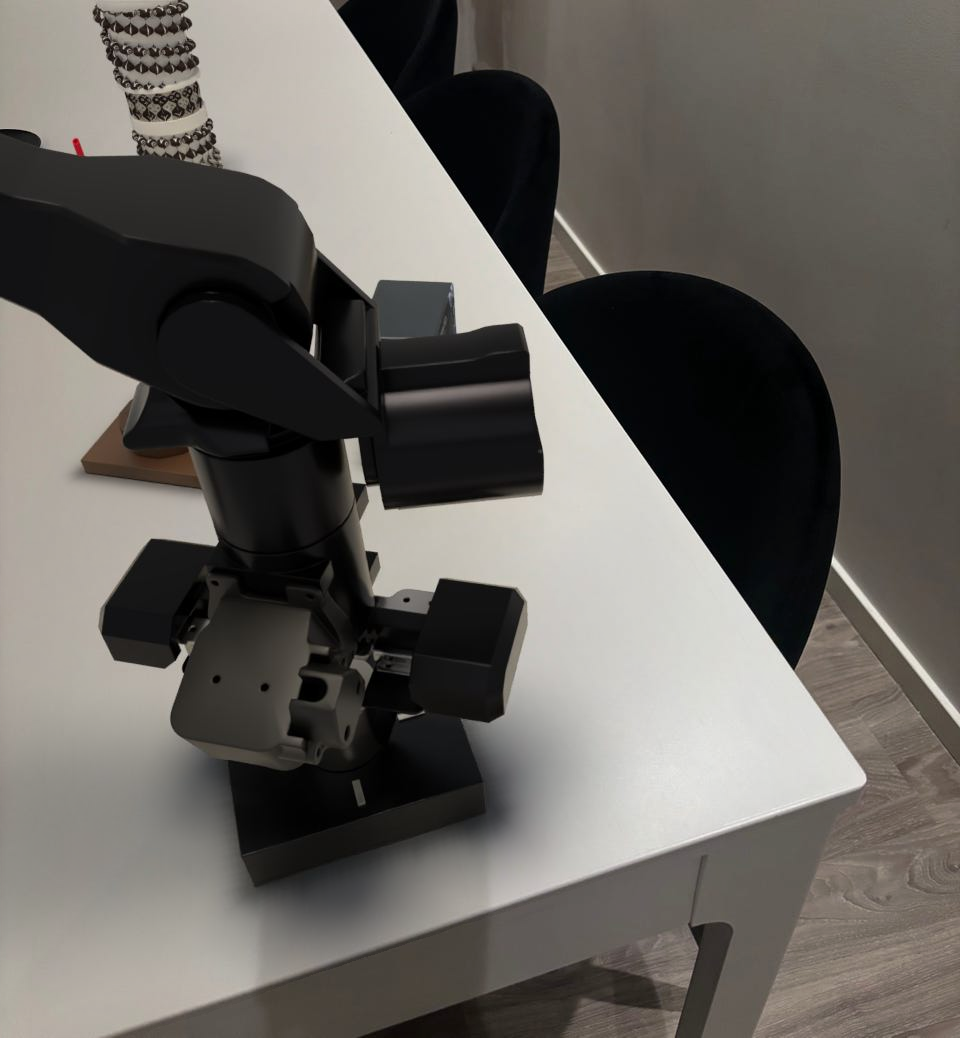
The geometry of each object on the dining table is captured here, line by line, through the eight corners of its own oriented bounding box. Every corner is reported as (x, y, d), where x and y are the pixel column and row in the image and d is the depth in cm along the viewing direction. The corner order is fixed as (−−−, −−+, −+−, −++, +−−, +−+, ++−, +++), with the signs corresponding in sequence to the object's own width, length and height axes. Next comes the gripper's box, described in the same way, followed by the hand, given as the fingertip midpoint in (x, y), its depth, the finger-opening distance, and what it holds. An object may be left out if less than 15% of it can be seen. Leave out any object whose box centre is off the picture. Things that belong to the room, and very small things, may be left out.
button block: (85, 472, 71) (71, 440, 69) (144, 401, 78) (133, 370, 76) (207, 489, 69) (197, 457, 67) (258, 414, 76) (250, 383, 74)
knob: (294, 713, 51) (278, 662, 48) (375, 690, 52) (365, 638, 49) (309, 782, 48) (293, 732, 45) (395, 757, 49) (385, 706, 46)
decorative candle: (152, 214, 103) (73, -51, 86) (141, 181, 109) (66, -72, 92) (236, 197, 105) (176, -66, 88) (221, 165, 111) (162, -85, 94)
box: (447, 464, 70) (435, 339, 63) (371, 460, 71) (351, 336, 64) (463, 400, 76) (454, 278, 68) (393, 397, 76) (376, 276, 69)
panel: (253, 887, 47) (239, 855, 45) (228, 725, 54) (215, 691, 52) (487, 813, 49) (484, 779, 47) (433, 667, 56) (429, 632, 54)
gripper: (-39, 621, 35) (99, 838, 46) (459, 703, 31) (483, 919, 42) (113, 433, 43) (201, 656, 53) (526, 481, 39) (532, 710, 50)
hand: (341, 729), depth 49 cm, fingers closed on knob, 4 cm apart
